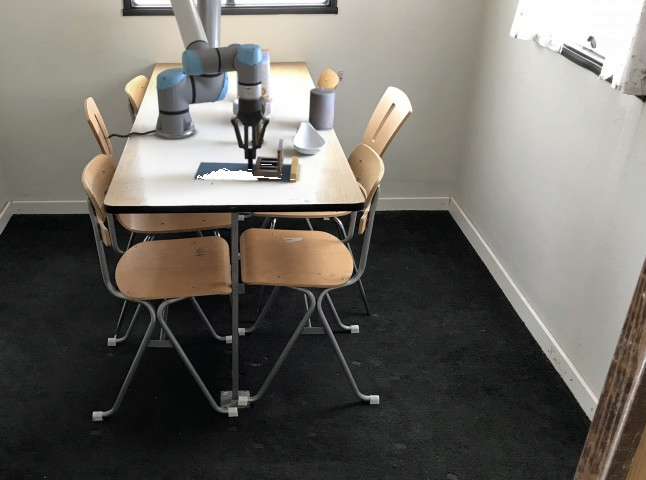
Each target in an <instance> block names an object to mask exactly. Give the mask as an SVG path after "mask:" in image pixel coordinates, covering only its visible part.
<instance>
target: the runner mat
mask: <svg viewBox="0 0 646 480" xmlns="http://www.w3.org/2000/svg"><path fill="white" fill-rule="evenodd" d="M255 164H256V163H253V169H252V170H248V162H210V161H209V162H208V161H207V162H206V161H205V162H204V161H200V164H199V166H198V168H197V170H196V172H195V174H194V177H193V180H196V179H197V176H198V175H200V176H202V177H203V175H204V174H207V173H208V174H210V173H211V172H212V171H215V172H216V171H218V170H219V169H223V168H226V169H228V170H230V171H239V170H242V171H247V172H252V174H253V171H254V167H255ZM291 165H292V163H291V164H288V163H284V165H283V171H282V176H281V181H272V180H258V181H257V182H268V183H269V182H270V183H272V182H273V183H291V182H290V172H291ZM223 170H225V169H223ZM228 170H225V171H228ZM261 170H268V169H261ZM298 171H299V170H298ZM298 171H297V173H298ZM208 174H207V175H208ZM200 176H199V177H200ZM194 178H195V179H194ZM199 179H201V178H198V180H197V181H205V180H204V179H201V180H199Z"/></svg>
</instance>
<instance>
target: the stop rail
mask: <svg viewBox="0 0 646 480" xmlns="http://www.w3.org/2000/svg"><path fill="white" fill-rule="evenodd" d="M299 158H300V157H299V156H292V160H291V164H292V165H291V172H290V179H296V180H290V182H289V183H297V181H298V180H297V179H298V172H297V171H299Z"/></svg>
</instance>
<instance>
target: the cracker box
mask: <svg viewBox="0 0 646 480" xmlns="http://www.w3.org/2000/svg"><path fill="white" fill-rule="evenodd" d="M261 51H262V95H261V96H262V97H265V98H268V99H270V100H271V85H270V84H271V83H270V82H271V79H270V78H271V74H270V73H271V70H270V69H271V68H270V67H271V64H270V63H271V59H270V58H271V57H270V53H271V52H270V51H271V50H270V49H269V48H267V49H263V48H261ZM236 96H237V97H236V99H237V98H239V96H238V72H237V71H236Z"/></svg>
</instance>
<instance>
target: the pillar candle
mask: <svg viewBox="0 0 646 480" xmlns="http://www.w3.org/2000/svg"><path fill="white" fill-rule="evenodd" d="M335 97H336V90H335V89H333V88H331V87H330V88H329V87H323V86H322V87H314V88H311V89H310V90H309V107H308V109H309V111H308V122H309V123H310V124H311V125H312V126H313V128H314V129H315V130H316V131H318V130H319V131H324V130H330V129H332V128H333V127H334V116H335V115H334V113H335V99H336V98H335Z"/></svg>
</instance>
